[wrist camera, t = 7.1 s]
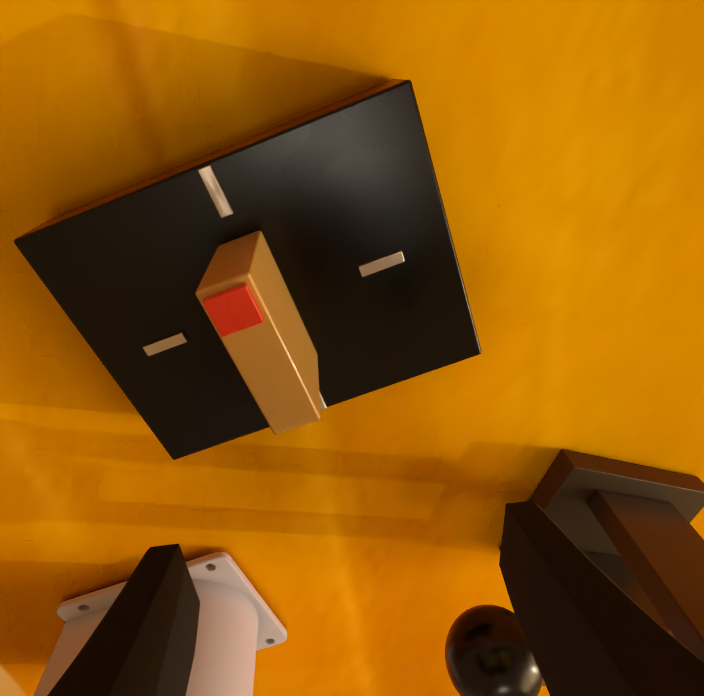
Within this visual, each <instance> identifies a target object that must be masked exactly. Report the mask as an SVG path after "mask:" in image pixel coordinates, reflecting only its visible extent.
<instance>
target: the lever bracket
mask: <svg viewBox="0 0 704 696" xmlns="http://www.w3.org/2000/svg"><path fill="white" fill-rule="evenodd" d="M530 501H534V502H536V503H537V504H538V505H539V506H540V507H541V508H542V510H543V511H544V512H545V513H546V514H547V515H548V516H549V517H550V518H551V519H552V520H553V521H554V522H555V523H556V525H557V526H558V527H559V528H560V529H561V530H562V531H563V532H564V533H565V534H566V535H567V536H568V537H569V538H570V539H571V540H572V541H573V542H574V543H575V544H576V545H577V546H578V547H579V549H580V550H581V551H582V552H583V553H584V554H585V555H586V556H587V557H588V558H589V559H590V560H591V561H592V562H593V563H594V564H595V565H596V566H597V567H598V568H599V569H600V570H602V571H603V572H604V573H605V574H606V575H607V576H608V577H609V578H610V579H611V580H612V581H613V582H614V583H615V584H616V585H617V586H618V587H619V588H620V589H621V590H622V591H623V592H624V593H625V594H627V595H628V596H629V597H630V598H631V599H632V600H633V601H634V602H635V603H636V604H637V605H638V606H639V607H641V608H642V609H643V610H644V611H645V612H646V613H647V614H648V615H650V616H651V617H652V618H653V619H654V620H655V621H656V622H657V623H659V624H660V625H661V626H662V627H663V628H664V629H665V630H667V631H668V630H670V631H671V633H672V634H673V636H674V637H675V638H676V639H677V640H678V641H679V642H681V643H682V644H683V645H684V646H685V647H687V648H688V649H689V650H690V651H691V652H693V653H694V654H695V655H696V656H697V657H699V658H700V659H701V660H702V661H704V540H703V539H702V537H701V536H700V535H699V534H698V533H697V532H696V530H695V529H694V528H693V527H692V526H691V525H690V522H691V521H692V520H693V518H694V517H695V516H696V515H697V514H698V513H699V511H700V510H701V509H702V508H703V507H704V483H703V482H702V481H701V480H700V479H699V478H698V477H695V476H690V475H685V474H681V473H676V472H671V471H666V470H661V469H656V468H651V467H646V466H641V465H636V464H632V463H627V462H622V461H617V460H612V459H607V458H602V457H597V456H592V455H587V454H582V453H578V452H573V451H568V450H562V451H561V452H560V454H559V455H558V457H557V458H556V460H555V462H554V463H553V465H552V466H551V468H550V469H549V471H548V472H547V474H546V476H545V477H544V479H543V480H542V482H541V483H540V485H539V487H538V488H537V490H536V491H535V493H534V494H533V496H532V497H531V499H530ZM501 545H502V544H501ZM499 549H500V552H501V546H500V547H499Z"/></svg>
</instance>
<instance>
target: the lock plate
mask: <svg viewBox="0 0 704 696" xmlns="http://www.w3.org/2000/svg"><path fill="white" fill-rule="evenodd" d="M256 231H261V232H262V234H263V236H264V238H265V240H266V243H267V245H268V247H269V249H270V251H271V254H272V256H273V258H274V260H275V262H276V265H277V267H278V269H279V271H280V273H281V276H282V278H283V280H284V282H285V284H286V287H287V289H288V291H289V293H290V295H291V298H292V300H293V302H294V304H295V306H296V308H297V311H298V313H299V315H300V317H301V319H302V322H303V324H304V326H305V328H306V330H307V333H308V335H309V337H310V339H311V341H312V344H313V346H314V348H315V350H316V352H317V356H318V376H319V397H320V410H323V409H326V408H327V407H328V406H331V405H334V404H337V403H340V402H343V401H346V400H349V399H352V398H354V397H357V396H360V395H363V394H366V393H369V392H372V391H375V390H378V389H380V388H383V387H386V386H389V385H392V384H395V383H398V382H401V381H404V380H406V379H409V378H412V377H415V376H418V375H421V374H424V373H427V372H430V371H432V370H435V369H438V368H441V367H444V366H447V365H450V364H453V363H456V362H458V361H461V360H464V359H467V358H470V357H473V356H476V355H479V354H481V348H480V344H479V340H478V336H477V333H476V329H475V325H474V321H473V317H472V313H471V309H470V306H469V302H468V298H467V294H466V290H465V286H464V283H463V279H462V275H461V271H460V267H459V263H458V259H457V256H456V252H455V248H454V244H453V240H452V236H451V232H450V229H449V225H448V221H447V217H446V213H445V209H444V206H443V202H442V198H441V194H440V190H439V186H438V182H437V179H436V175H435V171H434V167H433V163H432V159H431V155H430V152H429V148H428V144H427V140H426V136H425V132H424V129H423V125H422V121H421V117H420V113H419V109H418V105H417V102H416V98H415V94H414V90H413V86H412V82H411V81H410V80H402V79H392V80H390V81H387V82H385V83H382V84H380V85H377V86H375V87H373V88H370V89H368V90H365V91H363V92H360V93H358V94H355V95H353V96H350V97H348V98H346V99H343V100H341V101H338V102H336V103H333V104H331V105H328V106H326V107H324V108H321V109H319V110H316V111H314V112H311V113H309V114H306V115H304V116H301V117H299V118H297V119H294V120H292V121H289V122H287V123H284V124H282V125H279V126H277V127H274V128H272V129H270V130H267V131H265V132H262V133H260V134H257V135H255V136H252V137H250V138H247V139H245V140H243V141H240V142H238V143H235V144H233V145H230V146H228V147H225V148H223V149H220V150H218V151H216V152H213V153H211V154H208V155H206V156H203V157H201V158H198V159H196V160H193V161H191V162H189V163H186V164H184V165H181V166H179V167H176V168H174V169H171V170H169V171H166V172H164V173H162V174H159V175H157V176H154V177H152V178H149V179H147V180H144V181H142V182H139V183H137V184H135V185H132V186H130V187H127V188H125V189H122V190H120V191H117V192H115V193H112V194H110V195H108V196H105V197H103V198H100V199H98V200H95V201H93V202H90V203H88V204H86V205H83V206H81V207H78V208H76V209H73V210H71V211H68V212H66V213H63V214H61V215H59V216H56V217H54V218H51V219H50V220H48V221H46V222H44V223H43V224H41V225H39V226H37V227H36V228H34V229H32V230H30V231H29V232H27V233H25V234H23V235H22V236H20V237H18V238H16V239H15V240H14V243H15V245H16V246H17V247H18V249H19V250H20V251H21V253H22V254H23V256H24V257H25V258H26V260H27V261H28V262H29V264H30V265H31V266H32V268H33V269H34V271H35V272H36V273H37V275H38V276H39V277H40V279H41V280H42V281H43V283H44V284H45V286H46V287H47V288H48V290H49V291H50V292H51V294H52V295H53V296H54V298H55V299H56V301H57V302H58V303H59V305H60V306H61V307H62V309H63V310H64V311H65V313H66V314H67V316H68V317H69V318H70V320H71V321H72V322H73V324H74V325H75V326H76V328H77V329H78V331H79V332H80V333H81V335H82V336H83V337H84V339H85V340H86V341H87V343H88V344H89V346H90V347H91V348H92V350H93V351H94V352H95V354H96V355H97V356H98V358H99V359H100V361H101V362H102V363H103V365H104V366H105V367H106V369H107V370H108V371H109V373H110V374H111V376H112V377H113V378H114V380H115V381H116V382H117V384H118V385H119V386H120V388H121V389H122V391H123V392H124V393H125V395H126V396H127V397H128V399H129V400H130V401H131V403H132V404H133V406H134V407H135V408H136V410H137V411H138V412H139V414H140V415H141V417H142V418H143V419H144V421H145V422H146V423H147V425H148V426H149V427H150V429H151V430H152V432H153V433H154V434H155V436H156V437H157V438H158V440H159V441H160V442H161V444H162V445H163V447H164V448H165V449H166V451H167V452H168V453H169V455H170V456H171V457H172V459H174V460H175V459H178V458H181V457H184V456H187V455H190V454H193V453H195V452H198V451H201V450H204V449H207V448H210V447H213V446H216V445H219V444H221V443H224V442H227V441H230V440H233V439H236V438H239V437H242V436H245V435H248V434H250V433H253V432H256V431H259V430H262V429H265V428H268V427H270V426H269V424H268V422H267V420H266V418H265V417H264V415H263V413H262V411H261V410H260V408H259V406H258V404H257V402H256V401H255V399H254V397H253V395H252V394H251V392H250V390H249V388H248V386H247V385H246V383H245V381H244V379H243V378H242V376H241V374H240V372H239V371H238V369H237V367H236V365H235V363H234V362H233V360H232V358H231V356H230V355H229V353H228V351H227V349H226V347H225V346H224V344H223V342H222V340H221V339H220V337H219V335H218V333H217V331H216V330H215V328H214V326H213V324H212V323H211V321H210V319H209V317H208V315H207V314H206V312H205V310H204V308H203V307H202V305H201V303H200V301H199V300H198V298H197V296H196V290H197V288H198V286H199V284H200V282H201V280H202V278H203V276H204V274H205V272H206V270H207V268H208V266H209V264H210V262H211V260H212V258H213V256H214V254H215V252H216V250H217V248H218V246H219V245H222V244H225V243H227V242H230V241H233V240H235V239H238V238H240V237H243V236H246V235H248V234H251V233H253V232H256Z"/></svg>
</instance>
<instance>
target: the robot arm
mask: <svg viewBox="0 0 704 696" xmlns="http://www.w3.org/2000/svg"><path fill="white" fill-rule="evenodd" d="M499 565H500V568H501V571H502V575H503V578H504V581H505V585H506V588H507V591H508V594H509V597H510V600H511V603H512V607H513V610H514V613H515V615H516V617H517V620H518V622H519V624H520V627H521V629H522V631H523V634H524V636H525V638H526V641H527V643H528V645H529V648H530V650H531V652H532V655H533V657H534V659H535V661H536V664H537V666H538V668H539V671H540V673H541V675H542V677H543V680H544V682H545V684H546V687H547V689H548V691H549V694H550V696H704V661H702V660H701V659H700V658H699V657H697V656H696V655H695V654H694V653H693V652H691V651H690V650H689V649H688V648H687V647H685V646H684V645H683V644H682V643H681V642H679V641H678V640H677V639H676V638H675V637H674V636H672V635H671V634H670V633H669V632H668V631H667V630H665V629H664V628H663V627H662V626H661V625H660V624H659V623H657V622H656V621H655V620H654V619H653V618H652V617H651V616H650V615H648V614H647V613H646V612H645V611H644V610H643V609H642V608H641V607H639V606H638V605H637V604H636V603H635V602H634V601H633V600H632V599H631V598H630V597H629V596H628V595H627V594H625V593H624V592H623V591H622V590H621V589H620V588H619V587H618V586H617V585H616V584H615V583H614V582H613V581H612V580H611V579H610V578H609V577H608V576H607V575H606V574H605V573H604V572H603V571H602V570H600V569H599V568H598V567H597V566H596V565H595V564H594V563H593V562H592V561H591V560H590V559H589V558H588V557H587V556H586V555H585V554H584V553H583V552H582V551H581V550H580V549H579V547H578V546H577V545H576V544H575V543H574V542H573V541H572V540H571V539H570V538H569V537H568V536H567V535H566V534H565V533H564V532H563V531H562V530H561V529H560V528H559V527H558V526H557V525H556V523H555V522H554V521H553V520H552V519H551V518H550V517H549V516H548V515H547V514H546V513H545V512H544V511H543V510H542V508H541V507H540V506H539V505H538V504H537V503H536V502H534V501H525V502H517V503H508V504H506V508H505V518H504V527H503V536H502V545H501V554H500V563H499ZM56 613H57V615H58V616H59V617H60V618H61V619H62V620H64V621H65V624H64V627H63V629H62V631H61V634H60V636H59V638H58V641H57V643H56V645H55V647H54V650H53V652H52V654H51V657H50V659H49V661H48V664H47V666H46V668H45V670H44V673H43V675H42V677H41V680H40V682H39V684H38V687H37V689H36V691H35V693H34V696H253V684H254V671H255V659H256V651H257V650H260V649H264V648H267V647H270V646H274V645H277V644H280V643H283V642H284V641H285V640H286V639H287V631H286V629H285V628H284V627H283V625H282V624H281V623H280V621H279V620H278V619H277V617H276V616H275V615H274V613H273V612H272V611H271V609H270V608H269V607H268V605H267V604H266V603H265V601H264V600H263V599H262V597H261V596H260V595H259V593H258V592H257V591H256V589H255V588H254V587H253V585H252V584H251V583H250V582H249V580H248V579H247V578H246V576H245V575H244V574H243V572H242V571H241V570H240V568H239V567H238V566H237V564H236V563H235V562H234V560H233V559H232V558H231V556H230V555H229V554H228V553H226V552H221V551H219V552H215V553H212V554H209V555H206V556H202V557H199V558H196V559H193V560H190V561H187V562H185V559H184V557H183V554H182V551H181V548H180V546H179V544H172V545H164V546H155V547H150V548H149V549H148V550H147V552H146V553H145V555H144V556H143V558H142V559H141V561H140V562H139V564H138V566H137V567H136V569H135V570H134V572H133V573H132V575H131V576H130V578H129V580H128V581H125V582H122V583H119V584H116V585H113V586H110V587H107V588H104V589H101V590H97V591H94V592H91V593H88V594H85V595H82V596H79V597H76V598H73V599H70V600H67V601H64V602H61V603H60V604H59V606H58V608H57V610H56Z"/></svg>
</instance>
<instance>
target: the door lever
mask: <svg viewBox="0 0 704 696" xmlns="http://www.w3.org/2000/svg"><path fill="white" fill-rule="evenodd" d="M668 632H669V633H670V634H671V635H672V636H673V634H672V633H671V631H670V630H668ZM445 660H446V666H447V670H448V673H449V676H450V679H451V681H452V683H453V685H454V687H455V688H456V690H457V691H458V693H459V694H460V695H461V696H537V695H538V693H539V691H540V688H541V685H542V686H546V684H545V682H544V680H543V677H542V675H541V673H540V671H539V668H538V666H537V664H536V661H535V659H534V657H533V655H532V652H531V650H530V648H529V645H528V643H527V641H526V638H525V636H524V634H523V631H522V629H521V627H520V624H519V622H518V620H517V617H516V615H515V613H513V612H511V611H510V610H508V609H505V608H503V607H500V606H496V605H478V606H475V607H472V608H470V609H468V610H466V611H465V612H463V613H462V614H461V615H460V616H459V617H458V618H457V619H456V620H455V621H454V623H453V624H452V626H451V628H450V630H449V633H448V636H447V640H446V645H445Z"/></svg>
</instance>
